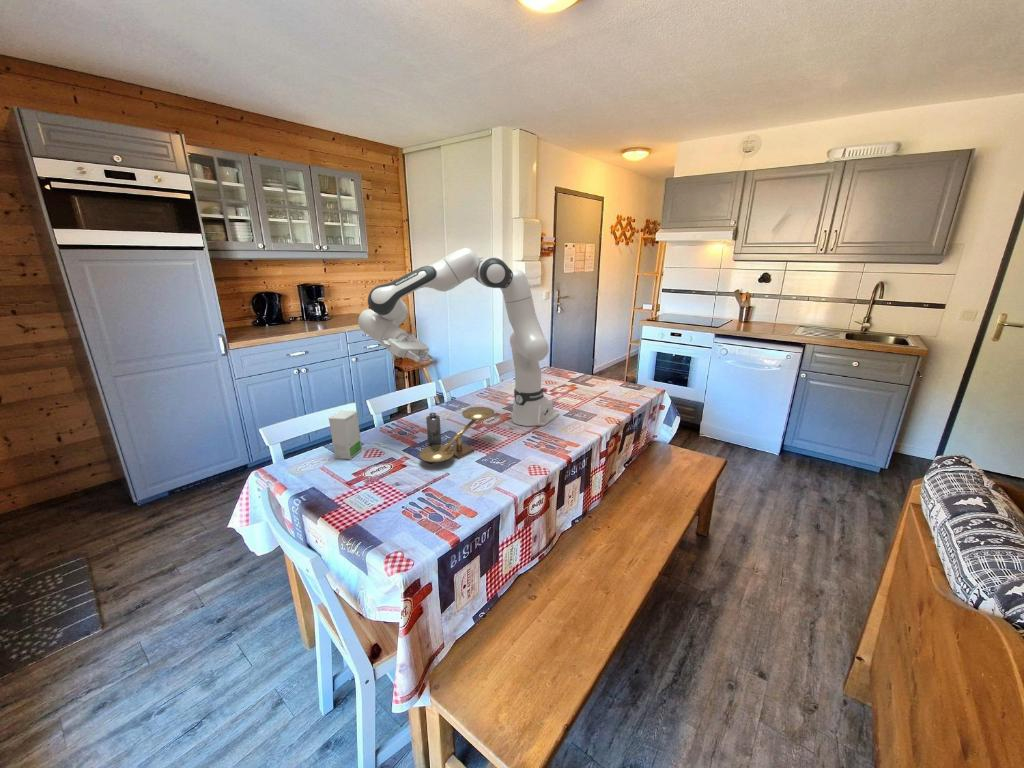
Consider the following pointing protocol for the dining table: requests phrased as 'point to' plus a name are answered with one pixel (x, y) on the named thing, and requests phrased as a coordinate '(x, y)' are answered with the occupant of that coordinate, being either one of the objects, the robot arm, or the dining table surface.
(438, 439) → the iron weight
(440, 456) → the balance
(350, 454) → the skincare box
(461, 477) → the dining table surface
